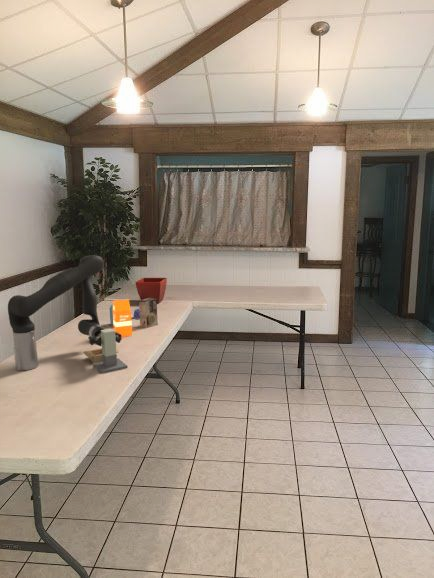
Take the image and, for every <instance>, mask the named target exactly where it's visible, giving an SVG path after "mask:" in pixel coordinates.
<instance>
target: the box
mask: <svg viewBox="0 0 434 578" xmlns="http://www.w3.org/2000/svg"><path fill="white" fill-rule="evenodd" d="M101 342H102V344H101V348H102V357H103V364H104V365H105V366H106V367H110V366H115V365H117V359H118V355H117V354H118V353H116V350H117V342H116V337H115V331H114V328H105V330H101Z"/></svg>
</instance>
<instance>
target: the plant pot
mask: <svg viewBox="0 0 434 578" xmlns="http://www.w3.org/2000/svg"><path fill="white" fill-rule="evenodd" d="M167 282H168V278H167V277H142V278H140V279H138V280H136V281H135V288H136V290H137V293H138V297H139V300H143V299H147V298H154V299H156V301H157V304H160V303H161V302H162V301H164V297H165V295H166V289H167V284H168V283H167Z"/></svg>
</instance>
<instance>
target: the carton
mask: <svg viewBox="0 0 434 578" xmlns="http://www.w3.org/2000/svg"><path fill="white" fill-rule="evenodd" d="M82 353H83V355H85V357H86V358H87V359H89V360H91V362H92V364H93V363H97V362H102V361H103V357H102V347H101V348H96V349H91V350H86V351H82ZM119 353H120V351H119V350H118V349H116V354H119Z"/></svg>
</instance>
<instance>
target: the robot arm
mask: <svg viewBox="0 0 434 578" xmlns="http://www.w3.org/2000/svg"><path fill="white" fill-rule="evenodd" d="M104 266H105V263H104V259H103V258H102V257H101V256H99V255H97V254H96V255H95V254H94V255H91V254H90V255H84V256H83V257H82V258H80V260H79V265H78V266H75V267H73V268H70V269H66V270H64V271H61V272H59V273H57V274H55V275H54V276H52V277H50V278H49V279H48V280H47V281H46V282H45V283H44V284H43V286H42V287H41V288H40V289H39V290H37V291H35V292H34V293H32V294H29V295H27V296H25V295H21V294H20V295H19V294H18V295H17V294H16V295H14V296H12V297H10V298H9V301H8V302H7V303H8V304H7V313H8V320H9V325H10V327H11V329H12V336H13V353H14V354H13V355H14V363H15V368H16V370H17V371H18V370H19V371H30V370H33V369H36V368H38V367H39V360H38V359H39V358H38V349H37V340H36V339H37V337H36V330H35V329H36V328H35V324H34V322H33V321H32V320H31V319H30V317H31V316H32V315H34V314H35V313H36V312H38V311H39V310H40V309H42V308H43V307H44V306H45V305H47V304H49V303H50V302H52V301H54V299H56V298H58V297H60V296H61V295H63V294H64V293H65V294H66V292H68V291H69V290H71V289H73V288H75V286H77V285H78V284H81V288H82V311H81V312H82V314H83V315H86V316H90V318H91V319H88V318H87V319H81V320H80V321H79V322H78V323H77V330H78V332H79V333H80V334H81V335H82V334H83V335H85V336H88V339H87V340H88V343H89V344H90V345H91V346H94V345H97V346H99V347H102V342H101V330H105V329H106V328H105V327H103V326H102V325H101V324H100V321H99V317H98V310H97V309H98V297H97V292H96V290H95V287H94V284H93V283H94V282H93V276H94V275H96V274H98V273H99V274H100V272H102V270H103V269H104ZM115 337H116V343H118V344H119V343H120V342H121V341H122V340H123V339H122V337H121V334H119V333H118V332H115Z"/></svg>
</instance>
